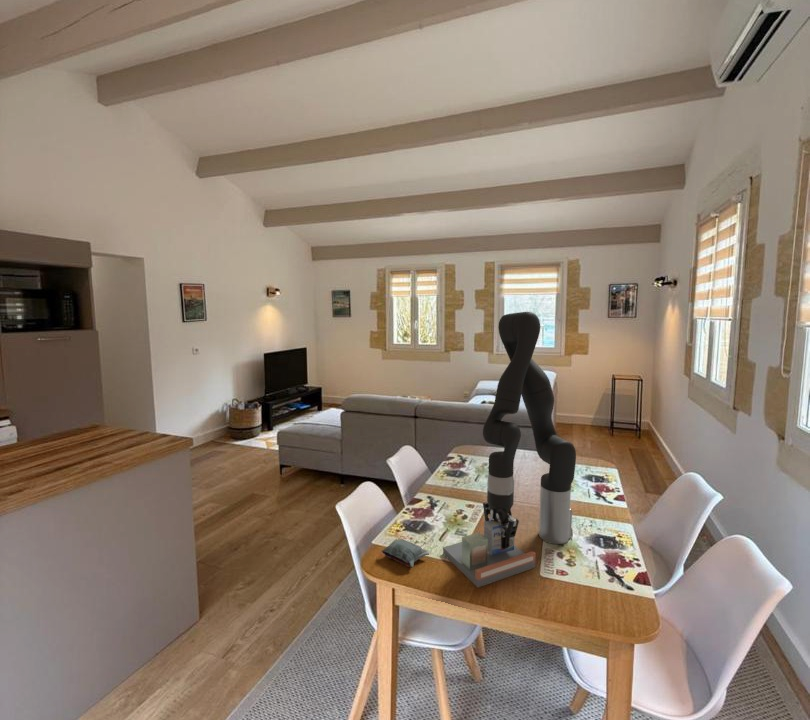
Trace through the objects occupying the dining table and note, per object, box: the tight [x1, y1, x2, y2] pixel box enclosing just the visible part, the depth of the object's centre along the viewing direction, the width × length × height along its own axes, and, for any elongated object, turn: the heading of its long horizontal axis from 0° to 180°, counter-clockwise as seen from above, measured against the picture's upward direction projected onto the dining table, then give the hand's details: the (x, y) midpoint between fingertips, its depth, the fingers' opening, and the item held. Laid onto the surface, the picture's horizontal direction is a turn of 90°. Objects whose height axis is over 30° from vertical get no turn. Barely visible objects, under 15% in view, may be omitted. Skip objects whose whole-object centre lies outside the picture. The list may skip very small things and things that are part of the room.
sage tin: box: [461, 531, 488, 571], centre depth 124 cm, size 6×4×8 cm
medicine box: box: [483, 520, 516, 555], centre depth 129 cm, size 8×4×9 cm, turn 111°
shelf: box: [442, 541, 536, 588], centre depth 129 cm, size 20×18×4 cm
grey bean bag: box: [381, 537, 430, 568], centre depth 131 cm, size 9×12×5 cm
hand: (499, 543), depth 129 cm, fingers closed on medicine box, 4 cm apart
